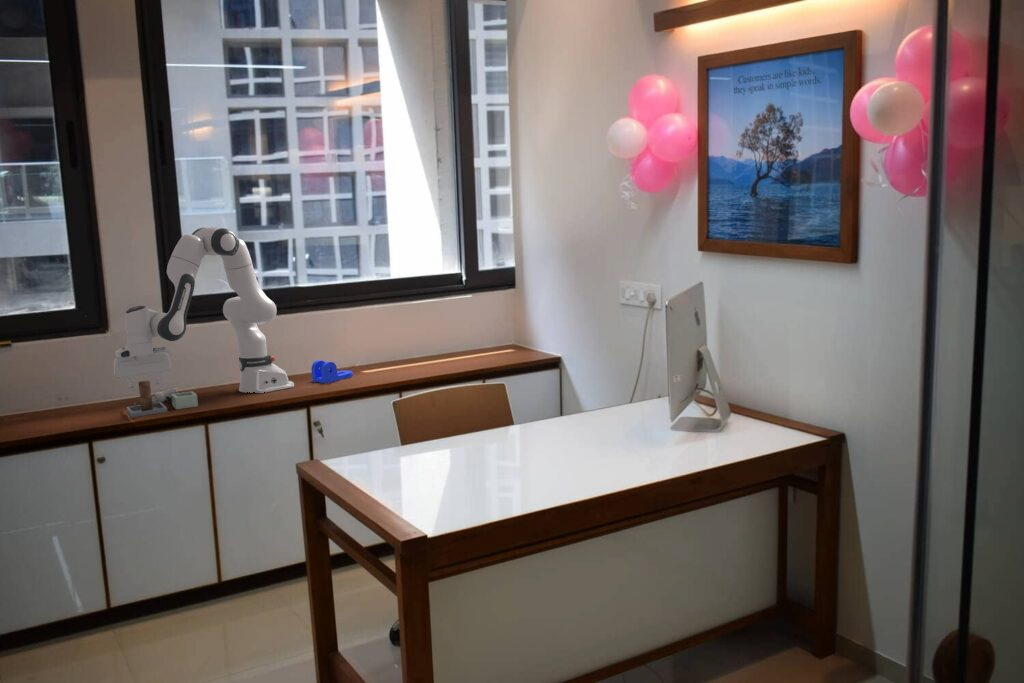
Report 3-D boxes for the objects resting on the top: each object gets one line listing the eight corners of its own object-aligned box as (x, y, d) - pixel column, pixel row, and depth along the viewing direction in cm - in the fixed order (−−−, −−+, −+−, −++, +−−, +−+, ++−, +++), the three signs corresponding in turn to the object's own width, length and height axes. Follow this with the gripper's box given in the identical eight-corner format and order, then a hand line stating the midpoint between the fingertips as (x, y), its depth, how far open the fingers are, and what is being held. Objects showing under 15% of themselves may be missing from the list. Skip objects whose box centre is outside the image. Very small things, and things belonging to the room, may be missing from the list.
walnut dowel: (151, 409, 355) (148, 380, 353) (153, 411, 352) (150, 381, 350) (140, 411, 353) (137, 381, 351) (142, 413, 350) (139, 383, 348)
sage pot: (193, 404, 365) (192, 391, 364) (198, 408, 358) (196, 394, 357) (172, 407, 361) (171, 394, 360) (176, 411, 354) (175, 397, 353)
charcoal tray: (161, 408, 361) (160, 402, 361) (167, 414, 350) (167, 408, 350) (127, 413, 355) (126, 407, 354) (132, 419, 344) (131, 413, 344)
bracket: (325, 384, 395) (323, 363, 393) (312, 382, 400) (310, 361, 399) (356, 376, 409) (355, 356, 407) (343, 374, 414) (342, 354, 412)
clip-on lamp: (147, 419, 357) (190, 401, 368) (142, 405, 354) (186, 386, 365) (134, 412, 365) (176, 394, 376) (129, 398, 362) (172, 380, 373)
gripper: (167, 344, 356) (171, 380, 359) (110, 351, 346) (115, 388, 349) (170, 347, 351) (174, 382, 353) (112, 354, 341) (117, 391, 343)
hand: (144, 385), depth 351 cm, fingers open, 8 cm apart
